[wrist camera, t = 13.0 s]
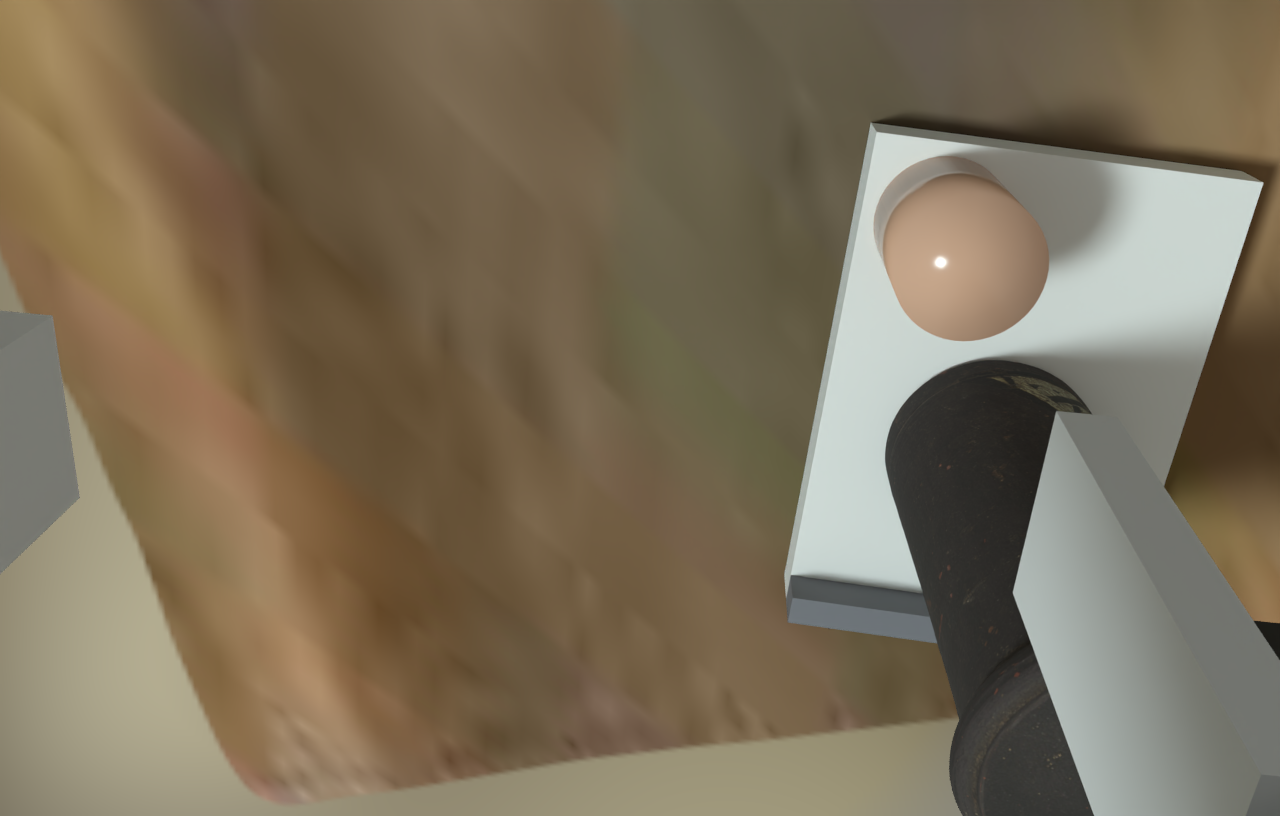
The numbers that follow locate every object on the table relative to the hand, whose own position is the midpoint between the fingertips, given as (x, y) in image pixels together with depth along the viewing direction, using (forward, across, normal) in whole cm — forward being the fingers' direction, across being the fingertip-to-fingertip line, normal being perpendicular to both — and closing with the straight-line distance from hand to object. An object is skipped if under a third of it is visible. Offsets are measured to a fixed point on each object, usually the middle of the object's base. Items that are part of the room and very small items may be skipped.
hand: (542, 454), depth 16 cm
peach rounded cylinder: (+30, +10, -4) cm, 32 cm away
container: (+30, +14, -14) cm, 36 cm away
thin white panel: (+32, +14, -12) cm, 37 cm away
